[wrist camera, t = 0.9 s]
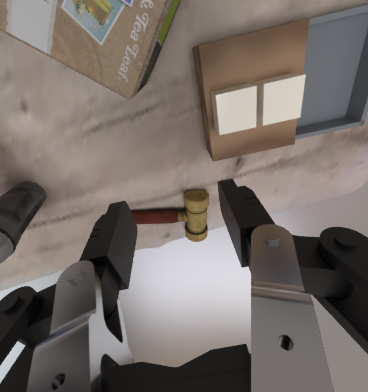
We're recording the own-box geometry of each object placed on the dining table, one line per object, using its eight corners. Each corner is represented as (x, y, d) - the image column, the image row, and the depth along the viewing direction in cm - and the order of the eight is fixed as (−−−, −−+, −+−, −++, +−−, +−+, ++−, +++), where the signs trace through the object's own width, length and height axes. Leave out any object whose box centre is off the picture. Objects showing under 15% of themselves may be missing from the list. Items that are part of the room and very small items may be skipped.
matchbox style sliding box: (193, 47, 26) (198, 45, 22) (286, 25, 25) (309, 18, 21) (207, 149, 34) (213, 161, 29) (278, 133, 33) (294, 144, 29)
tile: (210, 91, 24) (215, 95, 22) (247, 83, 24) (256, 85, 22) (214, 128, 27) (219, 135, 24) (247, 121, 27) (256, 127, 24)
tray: (286, 25, 25) (302, 20, 22) (374, 3, 25) (403, -5, 22) (278, 133, 33) (289, 140, 30) (345, 119, 33) (363, 124, 30)
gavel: (104, 245, 40) (90, 205, 35) (111, 229, 44) (99, 191, 38) (208, 242, 40) (210, 201, 34) (206, 226, 44) (207, 187, 38)
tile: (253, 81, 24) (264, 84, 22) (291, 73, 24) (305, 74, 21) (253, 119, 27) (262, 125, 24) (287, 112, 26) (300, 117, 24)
